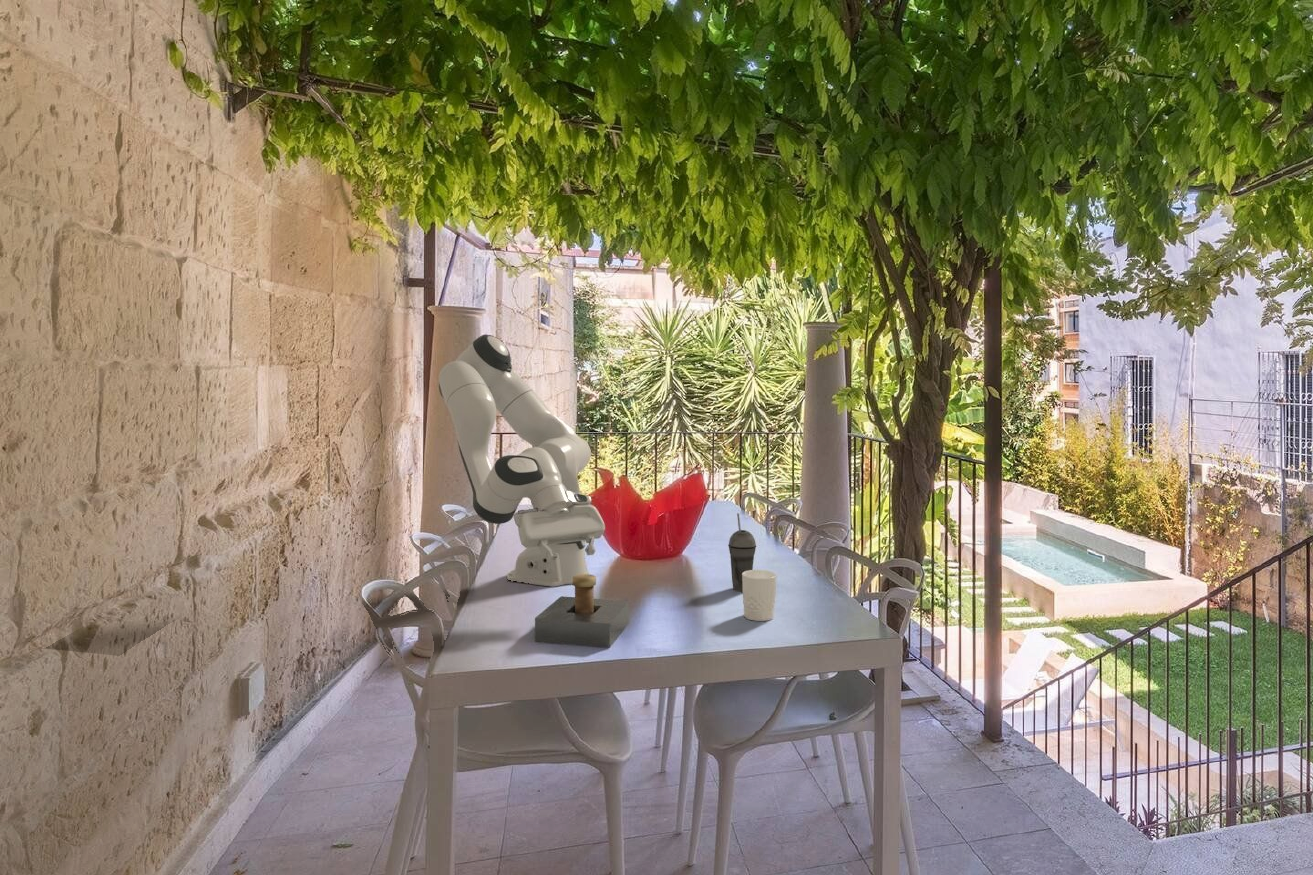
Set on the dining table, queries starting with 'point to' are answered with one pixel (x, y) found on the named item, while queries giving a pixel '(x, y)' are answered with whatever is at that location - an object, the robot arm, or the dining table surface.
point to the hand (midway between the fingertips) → (572, 556)
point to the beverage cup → (741, 555)
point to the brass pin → (584, 593)
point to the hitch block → (582, 623)
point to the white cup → (759, 594)
